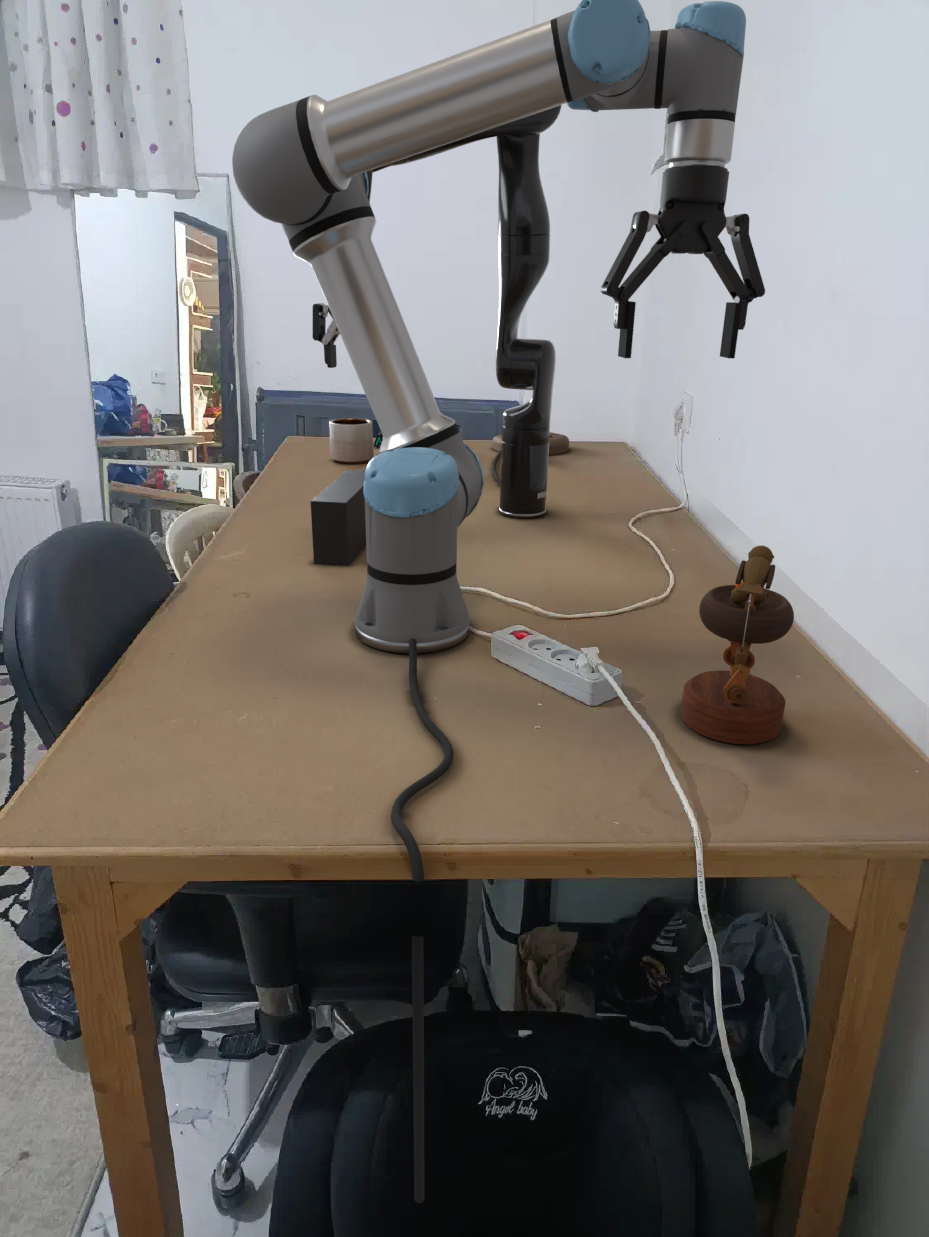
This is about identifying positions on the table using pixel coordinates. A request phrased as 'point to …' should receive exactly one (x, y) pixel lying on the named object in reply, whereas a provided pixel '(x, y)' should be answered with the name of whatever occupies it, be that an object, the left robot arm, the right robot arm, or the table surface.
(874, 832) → the table surface
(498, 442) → the brown flat rounded piece
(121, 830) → the table surface
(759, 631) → the music box
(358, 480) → the box
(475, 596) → the table surface
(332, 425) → the planter
